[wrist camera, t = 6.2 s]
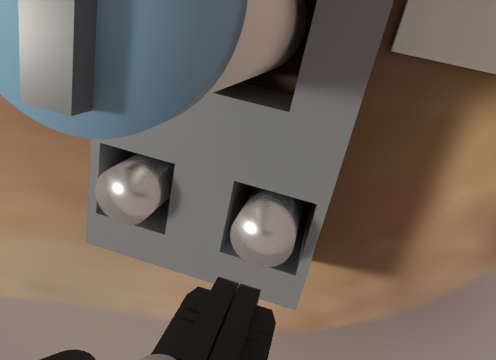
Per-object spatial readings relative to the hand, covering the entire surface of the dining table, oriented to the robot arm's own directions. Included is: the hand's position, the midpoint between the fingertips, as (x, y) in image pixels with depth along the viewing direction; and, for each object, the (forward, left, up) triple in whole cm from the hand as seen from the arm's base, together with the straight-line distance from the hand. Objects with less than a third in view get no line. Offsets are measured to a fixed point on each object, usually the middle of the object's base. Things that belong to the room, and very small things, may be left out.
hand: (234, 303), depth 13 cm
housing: (-5, -3, -11) cm, 12 cm away
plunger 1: (0, -7, -10) cm, 13 cm away
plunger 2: (0, 0, -10) cm, 11 cm away
